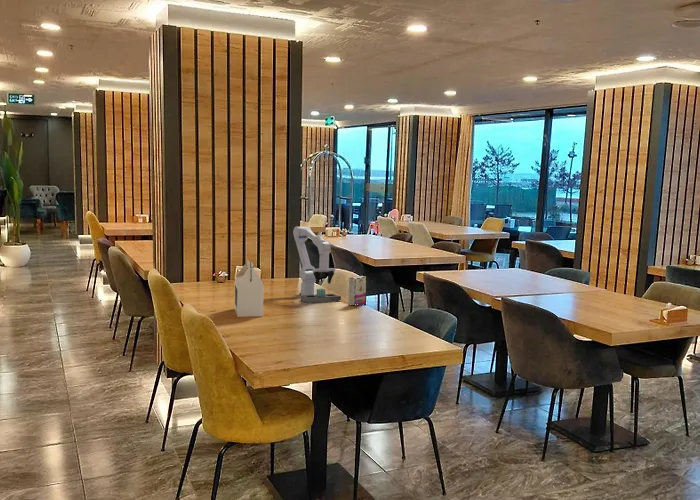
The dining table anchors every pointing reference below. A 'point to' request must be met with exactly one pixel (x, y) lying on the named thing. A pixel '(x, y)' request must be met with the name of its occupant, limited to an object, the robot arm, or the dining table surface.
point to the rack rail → (320, 298)
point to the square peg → (321, 292)
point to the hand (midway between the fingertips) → (323, 283)
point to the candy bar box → (357, 290)
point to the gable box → (248, 292)
